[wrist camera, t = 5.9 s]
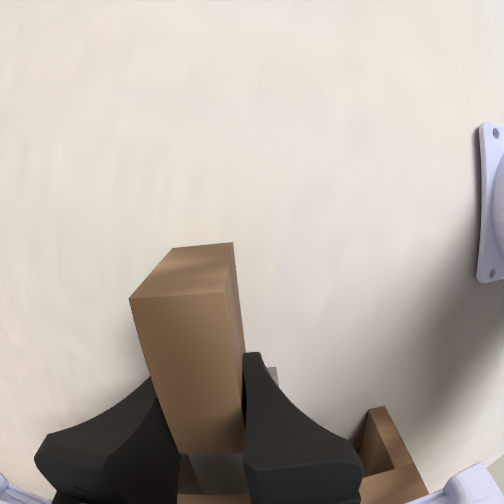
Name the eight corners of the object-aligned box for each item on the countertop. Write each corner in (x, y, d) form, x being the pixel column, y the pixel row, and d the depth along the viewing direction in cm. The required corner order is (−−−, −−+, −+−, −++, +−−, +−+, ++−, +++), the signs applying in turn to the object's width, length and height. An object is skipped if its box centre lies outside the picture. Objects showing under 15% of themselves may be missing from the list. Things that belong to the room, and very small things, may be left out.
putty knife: (266, 239, 12) (280, 286, 7) (283, 512, 18) (289, 560, 13) (142, 251, 12) (85, 300, 7) (222, 515, 18) (220, 563, 13)
